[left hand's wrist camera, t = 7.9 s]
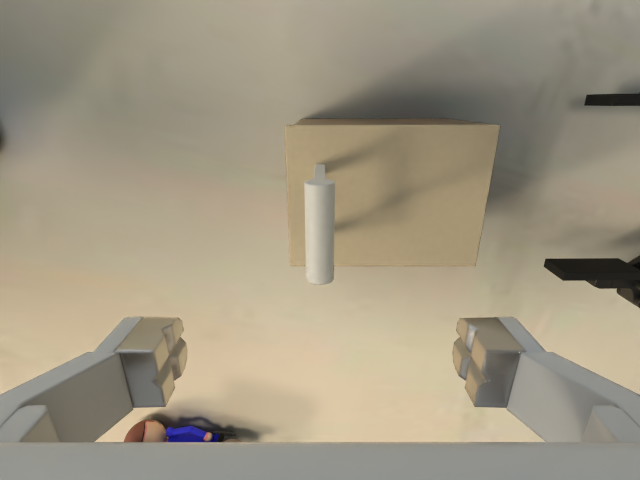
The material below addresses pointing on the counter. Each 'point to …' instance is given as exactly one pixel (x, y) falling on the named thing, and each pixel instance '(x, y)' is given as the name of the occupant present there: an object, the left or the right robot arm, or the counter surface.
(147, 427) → the figurine character
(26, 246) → the counter surface
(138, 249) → the counter surface
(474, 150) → the lid
